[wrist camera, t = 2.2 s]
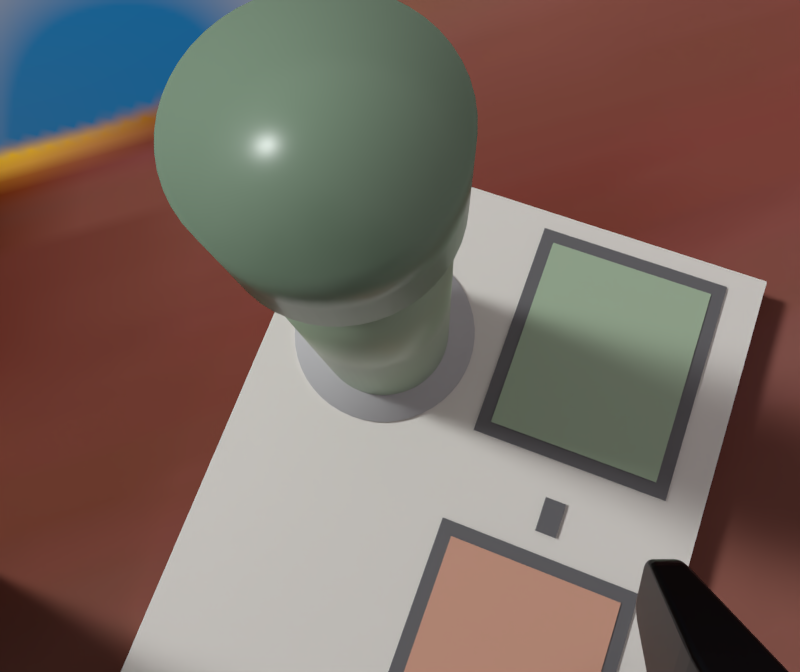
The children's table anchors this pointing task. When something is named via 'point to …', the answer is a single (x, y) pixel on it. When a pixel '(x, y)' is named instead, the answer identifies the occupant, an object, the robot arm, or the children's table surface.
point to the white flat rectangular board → (468, 472)
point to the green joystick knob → (329, 174)
